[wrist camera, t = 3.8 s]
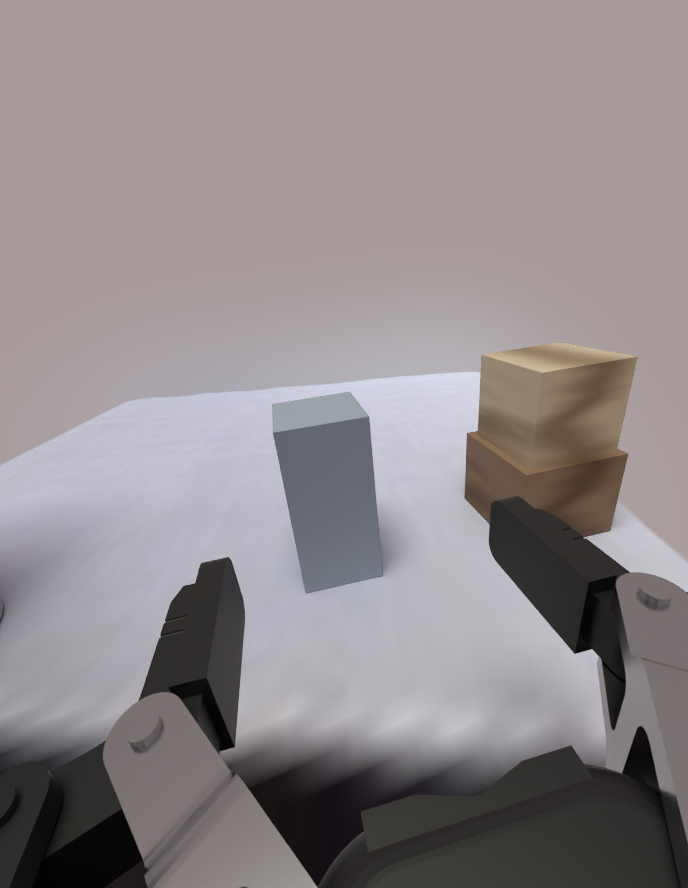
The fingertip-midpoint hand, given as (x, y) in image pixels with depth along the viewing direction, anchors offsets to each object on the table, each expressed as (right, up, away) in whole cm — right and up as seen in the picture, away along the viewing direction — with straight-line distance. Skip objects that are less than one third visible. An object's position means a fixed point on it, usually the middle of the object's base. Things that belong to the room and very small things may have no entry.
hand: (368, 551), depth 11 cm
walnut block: (+13, -2, +17) cm, 22 cm away
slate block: (-1, -5, +14) cm, 15 cm away
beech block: (+13, +3, +14) cm, 20 cm away
